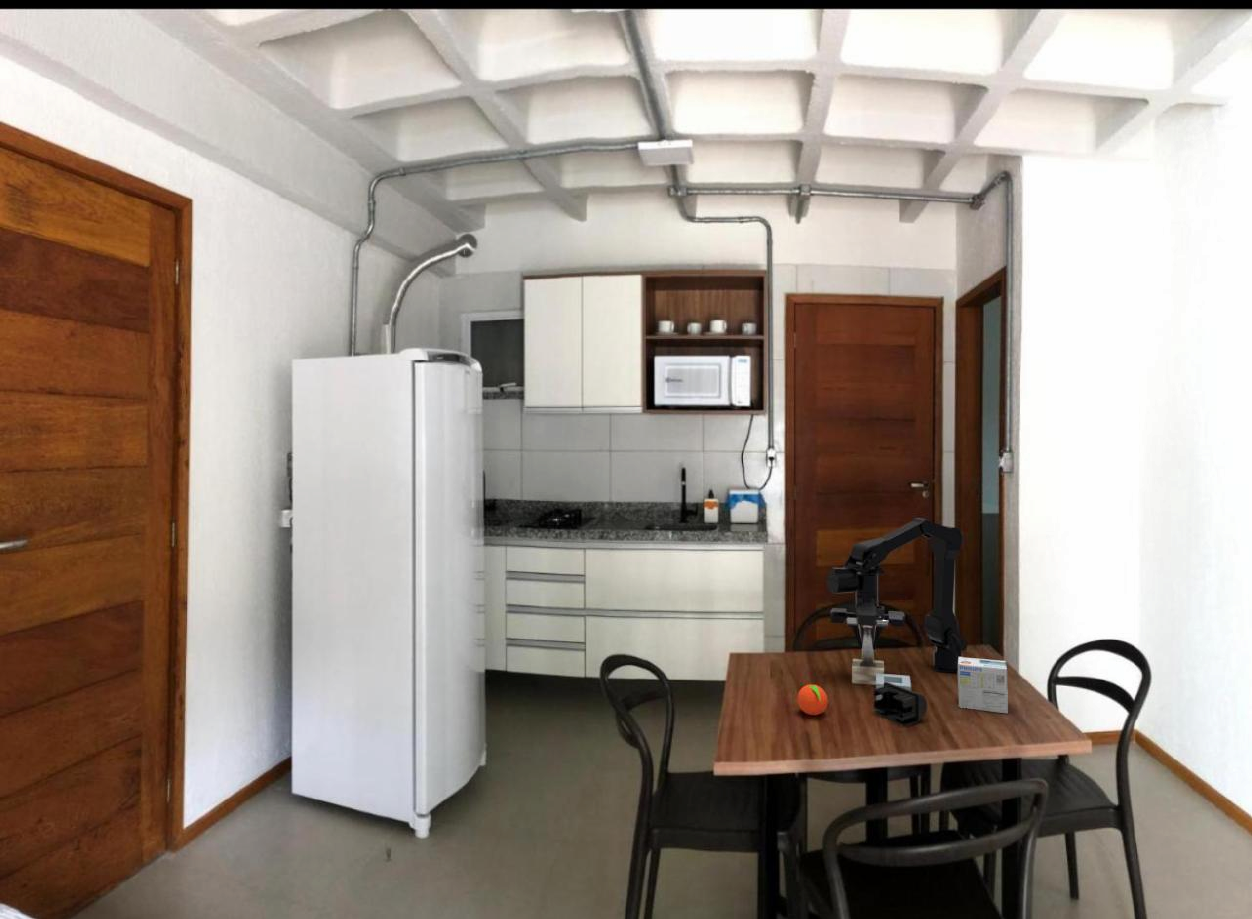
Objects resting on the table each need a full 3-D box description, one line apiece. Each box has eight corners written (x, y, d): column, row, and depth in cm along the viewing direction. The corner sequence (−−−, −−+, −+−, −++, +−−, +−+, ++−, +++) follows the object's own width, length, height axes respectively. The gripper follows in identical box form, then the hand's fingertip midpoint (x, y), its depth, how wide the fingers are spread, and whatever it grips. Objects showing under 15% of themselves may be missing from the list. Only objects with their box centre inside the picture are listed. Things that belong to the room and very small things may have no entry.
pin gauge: (873, 662, 194) (873, 626, 194) (873, 666, 192) (873, 628, 191) (862, 662, 195) (861, 625, 195) (861, 665, 193) (861, 628, 192)
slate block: (909, 691, 184) (909, 676, 184) (911, 702, 176) (911, 686, 176) (876, 688, 187) (876, 673, 186) (876, 699, 179) (876, 683, 179)
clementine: (835, 720, 167) (834, 690, 167) (806, 723, 166) (806, 692, 166) (820, 707, 175) (819, 678, 175) (793, 710, 174) (792, 680, 173)
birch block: (884, 675, 196) (883, 661, 196) (884, 685, 189) (884, 670, 189) (853, 673, 199) (852, 658, 199) (852, 683, 191) (852, 668, 191)
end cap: (928, 721, 165) (927, 692, 165) (906, 728, 162) (905, 698, 162) (893, 707, 174) (892, 679, 174) (871, 713, 171) (871, 685, 170)
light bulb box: (1007, 704, 174) (1006, 660, 174) (1008, 714, 168) (1008, 668, 167) (958, 698, 178) (957, 655, 178) (957, 708, 172) (957, 663, 172)
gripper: (828, 595, 188) (829, 655, 189) (905, 599, 182) (906, 660, 183) (831, 587, 199) (831, 643, 199) (903, 590, 193) (904, 648, 193)
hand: (867, 649), depth 194 cm, fingers closed on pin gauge, 3 cm apart
